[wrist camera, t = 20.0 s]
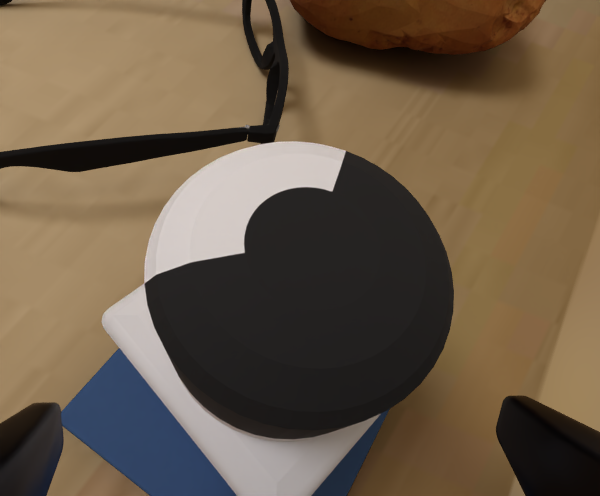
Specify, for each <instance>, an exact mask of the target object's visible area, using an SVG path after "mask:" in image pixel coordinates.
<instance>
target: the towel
mask: <svg viewBox="0 0 600 496" xmlns="http://www.w3.org/2000/svg"><path fill="white" fill-rule="evenodd" d="M388 411H389V409H388V410H387V411H385V412H383V413H381V414H380V415H379V417H378V418H377V419H376V420H375V421H374V422H373V424H372V425H371V426H370V427H369V428H368V430H367V431H366V432H365V433H364V434H363V435H362V437H361V438H360V439H359V440H358V441H357V442H356V444H355V445H354V446H353V447H352V448H351V450H350V451H349V452H348V453H347V454H346V455H345V457H344V458H343V459H342V460H341V461H340V462H339V464H338V465H337V466H336V467H335V468H334V470H333V471H332V472H331V473H330V474H329V475H328V477H327V478H326V479H325V480H324V481H323V482H322V484H321V485H320V486H319V487H318V488H317V490H316V491H315V492H314V493H313V494H312V495H311V496H347V494H348V492H349V490H350V488H351V486H352V484H353V482H354V480H355V478H356V476H357V474H358V472H359V470H360V468H361V466H362V464H363V462H364V460H365V458H366V456H367V454H368V452H369V450H370V448H371V446H372V444H373V441H374V439H375V437H376V435H377V433H378V431H379V429H380V427H381V425H382V423H383V421H384V419H385V417H386V415H387V413H388ZM61 418H62V426H63V427H65V428H66V429H67V430H68V431H70V432H71V433H72V434H73V435H75V436H76V437H77V438H78V439H80V440H81V441H82V442H83V443H85V444H86V445H87V446H88V447H90V448H91V449H92V450H93V451H95V452H96V453H97V454H98V455H100V456H101V457H102V458H103V459H105V460H106V461H107V462H109V463H110V464H111V465H112V466H114V467H115V468H116V469H117V470H119V471H120V472H121V473H122V474H124V475H125V476H126V477H127V478H129V479H130V480H131V481H132V482H134V483H135V484H136V485H137V486H139V487H140V488H141V489H142V490H144V491H145V492H146V493H147V494H149V495H150V496H237V495H236V494H235V493H234V491H233V490H232V489H231V487H230V486H229V485H228V484H227V482H226V481H225V480H224V479H223V477H222V476H221V475H220V474H219V472H218V471H217V470H216V469H215V467H214V466H213V465H212V464H211V462H210V461H209V460H208V459H207V457H206V456H205V455H204V454H203V452H202V451H201V450H200V449H199V447H198V446H197V445H196V444H195V442H194V441H193V440H192V438H191V437H190V436H189V435H188V433H187V432H186V431H185V430H184V428H183V427H182V426H181V425H180V423H179V422H178V421H177V420H176V418H175V417H174V416H173V415H172V413H171V412H170V411H169V410H168V408H167V407H166V406H165V405H164V403H163V402H162V401H161V400H160V398H159V397H158V396H157V395H156V393H155V392H154V391H153V389H152V388H151V387H150V386H149V384H148V383H147V382H146V381H145V379H144V378H143V377H142V376H141V374H140V373H139V372H138V371H137V369H136V368H135V367H134V366H133V364H132V363H131V362H130V361H129V359H128V358H127V357H126V356H125V354H124V353H123V352H122V351H121V349H120V348H119V349H118V350H117V351H116V352H115V353H114V354H113V355H112V356H111V358H110V359H109V360H108V361H107V362H106V363H105V364H104V365H103V366H102V368H101V369H100V370H99V371H98V372H97V373H96V374H95V375H94V376H93V377H92V379H91V380H90V381H89V382H88V383H87V384H86V385H85V386H84V387H83V389H82V390H81V391H80V392H79V393H78V394H77V395H76V396H75V397H74V398H73V400H72V401H71V402H70V403H69V404H68V405H67V406H66V407H65V408H64V410H63V411H62V412H61Z"/></svg>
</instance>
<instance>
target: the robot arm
mask: <svg viewBox="0 0 600 496" xmlns="http://www.w3.org/2000/svg"><path fill="white" fill-rule="evenodd" d="M496 434H497V438H498V440H499V443H500V445H501V447H502V449H503V451H504V453H505V455H506V457H507V459H508V461H509V463H510V465H511V467H512V469H513V471H514V473H515V475H516V477H517V479H518V481H519V483H520V485H521V487H522V489H523V492H524V494H525V496H600V432H599V431H596V430H594V429H592V428H590V427H588V426H586V425H584V424H582V423H580V422H578V421H576V420H574V419H572V418H570V417H568V416H566V415H564V414H562V413H560V412H557V411H556V410H554V409H551V408H549V407H547V406H545V405H543V404H541V403H539V402H537V401H535V400H533V399H531V398H529V397H527V396H508V397H506V398H505V399H504V400H503V403H502V407H501V411H500V414H499V418H498V422H497V426H496ZM62 449H63V428H62V418H61V409H60V406H59V405H58V404H57V403H34V404H32V405H30V406H28V407H26V408H25V409H23V410H21V411H20V412H18V413H17V414H15V415H13V416H12V417H10V418H8V419H7V420H5V421H4V422H2V423H0V496H46V495H47V492H48V490H49V487H50V484H51V481H52V478H53V476H54V473H55V470H56V467H57V464H58V461H59V459H60V456H61V453H62Z"/></svg>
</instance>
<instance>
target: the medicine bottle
mask: <svg viewBox="0 0 600 496" xmlns="http://www.w3.org/2000/svg"><path fill="white" fill-rule="evenodd" d="M453 300H454V289H453V280H452V272H451V268H450V264H449V260H448V256H447V253H446V250H445V248H444V245H443V243H442V241H441V238H440V236H439V234H438V232H437V230H436V229H435V227H434V225H433V223H432V221H431V220H430V218H429V216H428V215H427V213H426V212H425V211H424V209H423V208H422V206H421V205H420V204H419V202H418V201H417V200H416V199H415V198H414V197H413V196H412V194H411V193H410V192H409V191H408V190H407V189H406V188H405V187H404V186H403V185H402V184H400V183H399V182H398V181H397V180H396V179H395V178H394V177H392V176H391V175H390V174H388V173H387V172H385V171H384V170H382V169H381V168H379V167H378V166H376V165H375V164H373V163H371V162H369V161H367V160H365V159H364V158H362V157H359V156H357V155H354V154H352V153H350V152H347V151H344V150H341V149H338V148H334V147H331V146H327V145H321V144H316V143H309V142H296V141H291V142H273V143H266V144H260V145H256V146H252V147H248V148H245V149H241V150H238V151H235V152H233V153H230V154H228V155H225V156H223V157H220V158H218V159H217V160H215V161H213V162H211V163H210V164H208V165H206V166H204V167H203V168H202V169H200V170H199V171H198V172H196V173H195V174H194V175H192V176H191V177H190V178H188V179H187V180H186V181H185V182H184V183H183V184H182V185H181V186H180V187H179V188H178V189H177V190H176V192H175V193H174V194H173V196H172V197H171V198H170V199H169V201H168V202H167V203H166V205H165V206H164V208H163V210H162V212H161V214H160V215H159V217H158V219H157V221H156V223H155V225H154V228H153V231H152V234H151V237H150V239H149V242H148V248H147V253H146V259H145V278H144V284H143V285H141V286H140V287H139V288H137V289H136V290H134V291H133V292H131V293H130V294H129V295H127V296H126V297H124V298H123V299H121V300H120V301H118V302H117V303H116V304H114V305H113V306H111V307H110V308H108V309H107V310H106V311H105V313H104V314H103V317H102V325H103V327H104V329H105V330H106V332H107V333H108V334H109V335H110V337H111V338H112V339H113V340H114V342H115V343H116V344H117V346H118V347H119V348H120V349H121V351H122V352H123V353H124V354H125V356H126V357H127V358H128V359H129V361H130V362H131V363H132V364H133V366H134V367H135V368H136V369H137V371H138V372H139V373H140V374H141V376H142V377H143V378H144V379H145V381H146V382H147V383H148V384H149V386H150V387H151V388H152V389H153V391H154V392H155V393H156V395H157V396H158V397H159V398H160V400H161V401H162V402H163V403H164V405H165V406H166V407H167V408H168V410H169V411H170V412H171V413H172V415H173V416H174V417H175V418H176V420H177V421H178V422H179V423H180V425H181V426H182V427H183V428H184V430H185V431H186V432H187V433H188V435H189V436H190V437H191V438H192V440H193V441H194V442H195V444H196V445H197V446H198V447H199V449H200V450H201V451H202V452H203V454H204V455H205V456H206V457H207V459H208V460H209V461H210V462H211V464H212V465H213V466H214V467H215V469H216V470H217V471H218V472H219V474H220V475H221V476H222V477H223V479H224V480H225V481H226V482H227V484H228V485H229V486H230V487H231V489H232V490H233V491H234V493H235V494H236V495H237V496H311V495H312V494H313V493H314V492H315V491H316V490H317V488H318V487H319V486H320V485H321V484H322V482H323V481H324V480H325V479H326V478H327V477H328V475H329V474H330V473H331V472H332V471H333V470H334V468H335V467H336V466H337V465H338V464H339V462H340V461H341V460H342V459H343V458H344V457H345V455H346V454H347V453H348V452H349V451H350V450H351V448H352V447H353V446H354V445H355V444H356V442H357V441H358V440H359V439H360V438H361V437H362V435H363V434H364V433H365V432H366V431H367V430H368V428H369V427H370V426H371V425H372V424H373V422H374V421H375V420H376V419H377V418H378V417H379V415H380V414H381V413H383V412H385V411H387V410H388V409H390V408H391V407H393V406H394V405H396V404H397V403H399V402H400V401H402V400H403V399H405V398H406V397H407V396H408V395H409V394H410V393H411V392H412V391H413V390H414V389H415V388H416V387H418V386H419V385H420V384H421V383H422V381H423V380H424V379H425V377H426V376H427V375H428V373H429V372H430V371H431V369H432V368H433V367H434V365H435V363H436V361H437V359H438V357H439V356H440V354H441V352H442V350H443V348H444V345H445V342H446V339H447V336H448V333H449V330H450V326H451V320H452V314H453Z"/></svg>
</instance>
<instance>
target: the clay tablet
mask: <svg viewBox="0 0 600 496" xmlns="http://www.w3.org/2000/svg"><path fill="white" fill-rule="evenodd" d="M290 1H291V3H292V5H293V7H294V9H295V10H296V11H297V12H298V13H299V14H300V15H301V16H302V17H303V18H304V19H305V20H306V21H308V22H309V23H310V24H311V25H313V26H314V27H315V28H317V29H318V30H320V31H321V32H323V33H325V34H326V35H329V36H331V37H334V38H336V39H339V40H344V41H349V42H352V43H355V44H359V45H362V46H365V47H367V48H371V49H379V50H382V49H388V48H394V47H409V48H410V49H413V50H421V51H424V52H428V53H435V54H451V55H454V54H468V53H473V52H478V51H486V50H488V49H491V48H493V47H496V46H498V45H500V44H502V43H504V42H506V41H508V40H510V39H511V38H512V37H513V36H515V35H516V34H517V33H518V32H519V31H521V30H523V29H524V28H525V27H526V26H527V25H528V24H529V23H530V22H531V21H532V20H533V19H534V18H535V17H536V16H537V15H538V14H539V12H540V9H541V7H542V5H543V4H544V2H545V1H546V0H290Z"/></svg>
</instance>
